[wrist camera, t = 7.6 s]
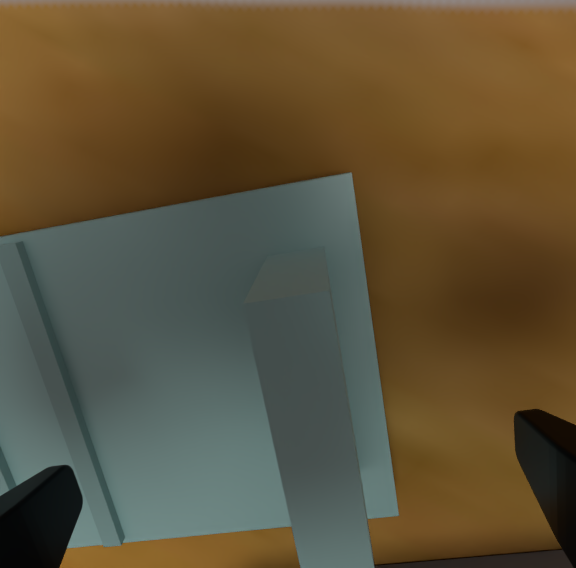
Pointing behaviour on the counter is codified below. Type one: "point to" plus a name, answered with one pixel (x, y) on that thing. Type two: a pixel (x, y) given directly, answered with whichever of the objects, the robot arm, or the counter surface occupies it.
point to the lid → (201, 370)
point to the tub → (497, 561)
